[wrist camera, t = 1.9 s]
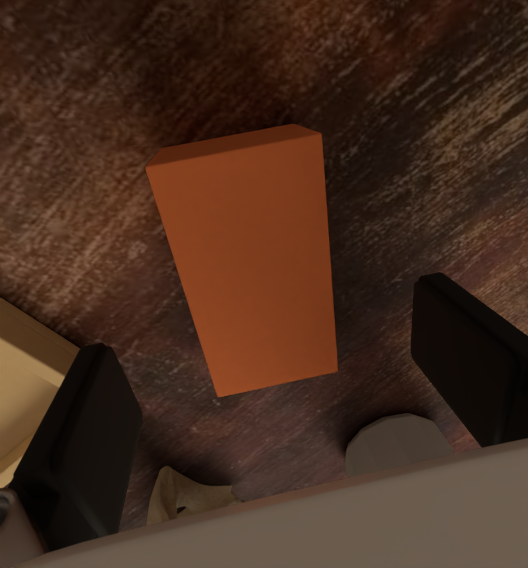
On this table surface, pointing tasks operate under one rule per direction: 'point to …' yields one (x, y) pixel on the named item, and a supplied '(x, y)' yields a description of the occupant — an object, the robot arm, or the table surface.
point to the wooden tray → (26, 381)
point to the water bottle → (394, 444)
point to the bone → (185, 497)
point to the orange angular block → (252, 252)
